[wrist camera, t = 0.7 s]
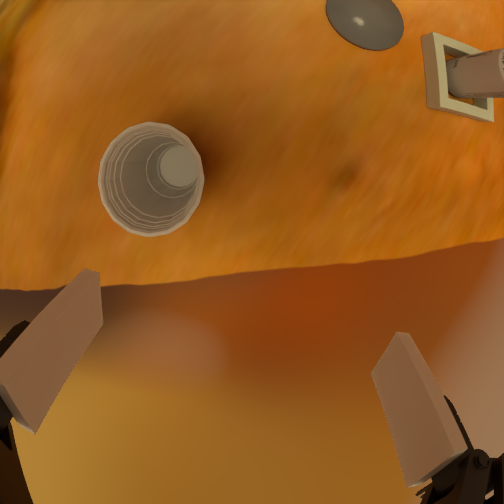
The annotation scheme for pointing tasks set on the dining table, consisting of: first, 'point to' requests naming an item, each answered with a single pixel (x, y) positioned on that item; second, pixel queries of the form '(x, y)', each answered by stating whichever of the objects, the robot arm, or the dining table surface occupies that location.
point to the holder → (437, 78)
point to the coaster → (366, 22)
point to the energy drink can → (477, 75)
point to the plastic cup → (151, 179)
